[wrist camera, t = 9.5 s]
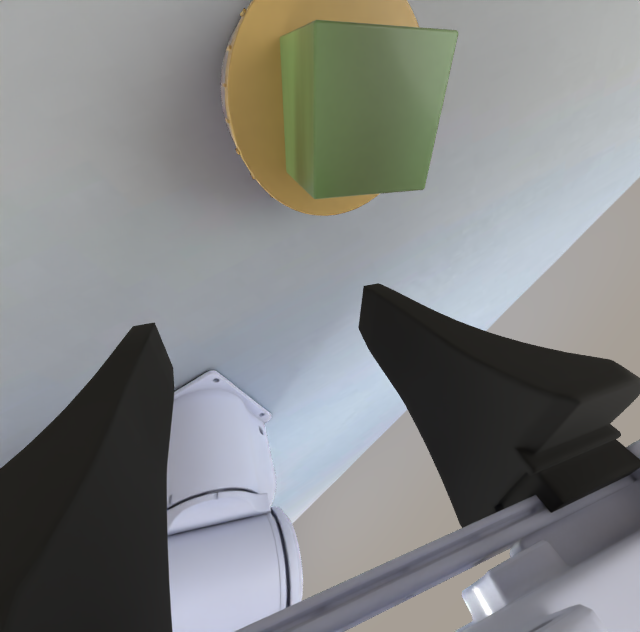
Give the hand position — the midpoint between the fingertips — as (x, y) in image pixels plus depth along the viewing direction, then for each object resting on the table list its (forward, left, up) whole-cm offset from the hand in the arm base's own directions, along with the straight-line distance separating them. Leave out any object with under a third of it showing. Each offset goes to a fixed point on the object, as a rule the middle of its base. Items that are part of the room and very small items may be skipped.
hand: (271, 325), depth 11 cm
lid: (+3, -7, -6) cm, 9 cm away
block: (+3, -7, -6) cm, 9 cm away
